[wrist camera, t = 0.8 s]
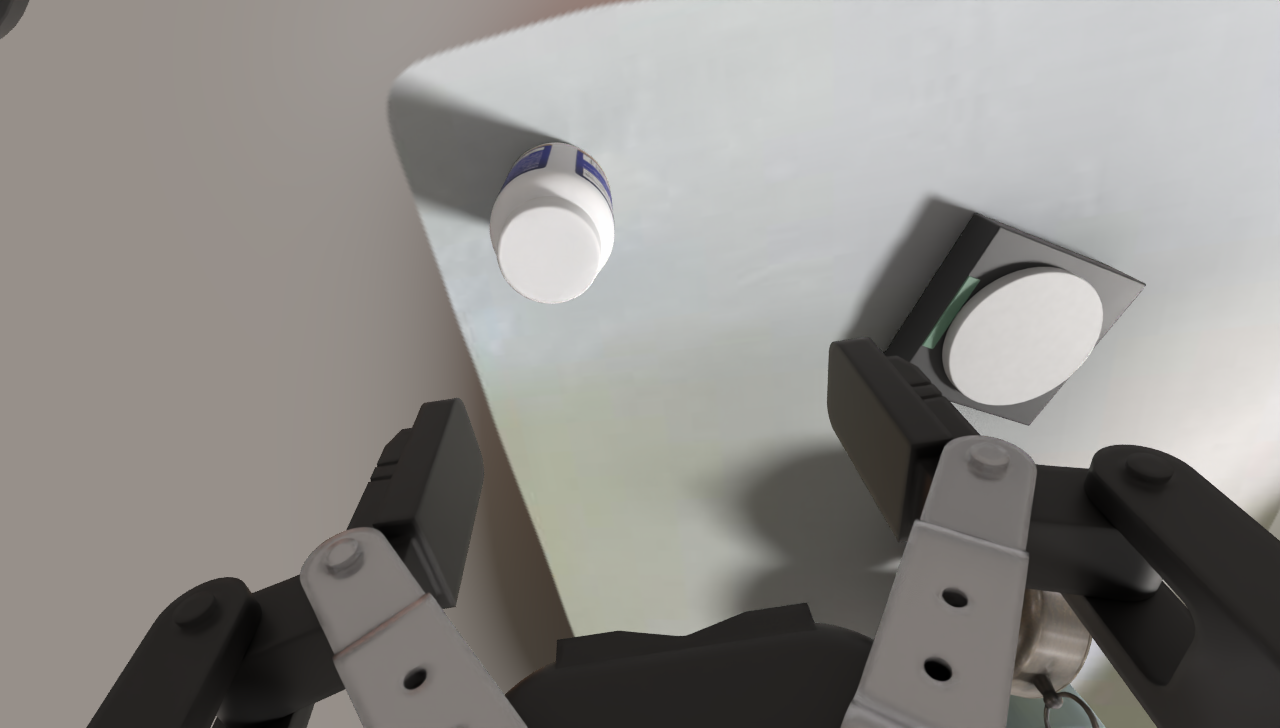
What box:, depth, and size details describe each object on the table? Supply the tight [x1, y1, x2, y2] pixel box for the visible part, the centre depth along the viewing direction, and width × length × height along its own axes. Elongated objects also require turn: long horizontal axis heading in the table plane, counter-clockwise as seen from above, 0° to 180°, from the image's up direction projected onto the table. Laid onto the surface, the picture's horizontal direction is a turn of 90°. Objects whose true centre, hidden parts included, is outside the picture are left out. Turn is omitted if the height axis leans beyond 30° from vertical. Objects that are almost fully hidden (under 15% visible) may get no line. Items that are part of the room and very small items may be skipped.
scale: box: [884, 213, 1146, 425], centre depth 34 cm, size 10×10×3 cm
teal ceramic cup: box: [1006, 684, 1106, 728], centre depth 45 cm, size 10×10×12 cm
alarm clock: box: [1010, 588, 1100, 728], centre depth 38 cm, size 11×5×16 cm, turn 163°
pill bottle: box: [490, 143, 615, 303], centre depth 27 cm, size 5×5×9 cm
